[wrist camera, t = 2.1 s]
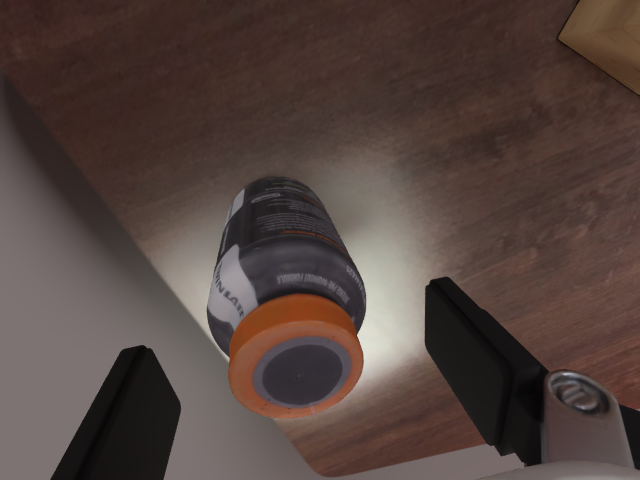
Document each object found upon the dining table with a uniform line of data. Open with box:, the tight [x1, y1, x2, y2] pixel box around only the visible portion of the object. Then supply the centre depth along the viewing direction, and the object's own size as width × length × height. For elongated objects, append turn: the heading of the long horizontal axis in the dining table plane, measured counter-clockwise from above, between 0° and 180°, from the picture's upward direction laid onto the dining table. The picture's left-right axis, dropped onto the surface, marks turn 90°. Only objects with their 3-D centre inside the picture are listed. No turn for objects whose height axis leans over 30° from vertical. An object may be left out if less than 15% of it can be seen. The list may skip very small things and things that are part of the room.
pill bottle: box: [207, 177, 366, 418], centre depth 14 cm, size 6×6×11 cm
